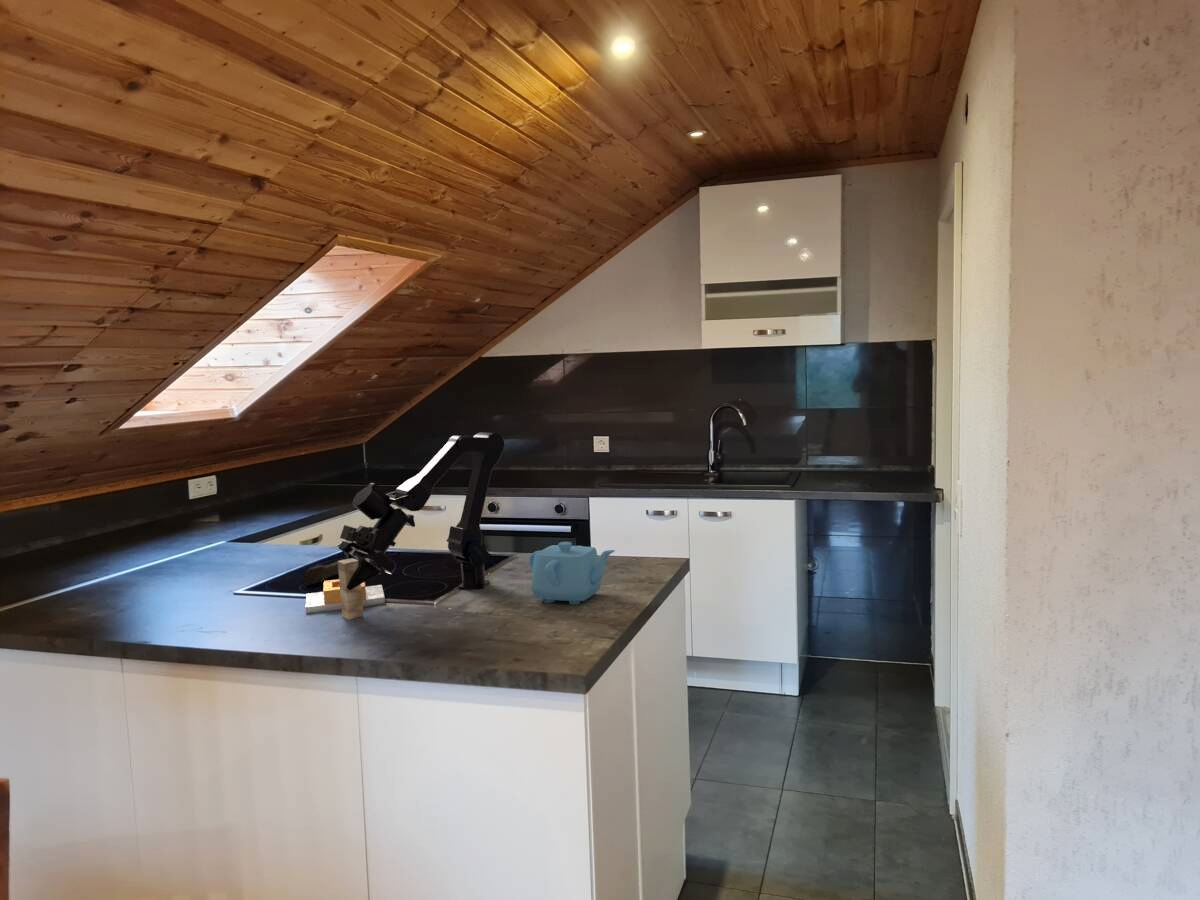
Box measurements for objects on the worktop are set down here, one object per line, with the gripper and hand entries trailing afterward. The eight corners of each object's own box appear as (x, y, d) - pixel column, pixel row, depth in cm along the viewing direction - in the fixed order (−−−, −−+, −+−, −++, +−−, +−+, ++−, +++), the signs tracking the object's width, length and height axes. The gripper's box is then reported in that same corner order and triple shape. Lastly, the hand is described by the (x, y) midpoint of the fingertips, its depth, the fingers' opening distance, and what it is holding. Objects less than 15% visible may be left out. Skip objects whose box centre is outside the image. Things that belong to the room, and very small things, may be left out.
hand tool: (349, 568, 245) (348, 552, 245) (360, 569, 243) (359, 553, 243) (298, 586, 228) (297, 569, 228) (310, 587, 227) (308, 570, 226)
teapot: (541, 612, 196) (538, 554, 195) (525, 593, 212) (522, 539, 210) (618, 602, 202) (615, 545, 200) (596, 584, 217) (594, 531, 216)
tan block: (356, 612, 202) (352, 558, 201) (363, 616, 200) (358, 560, 198) (342, 616, 200) (337, 561, 198) (348, 619, 197) (344, 563, 196)
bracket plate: (382, 590, 220) (380, 573, 219) (385, 603, 209) (383, 585, 208) (307, 599, 215) (305, 581, 214) (306, 613, 203) (304, 594, 203)
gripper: (343, 506, 206) (301, 561, 201) (379, 516, 192) (335, 575, 187) (376, 533, 212) (336, 587, 207) (413, 544, 198) (372, 602, 193)
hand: (344, 587), depth 198 cm, fingers closed on tan block, 3 cm apart
